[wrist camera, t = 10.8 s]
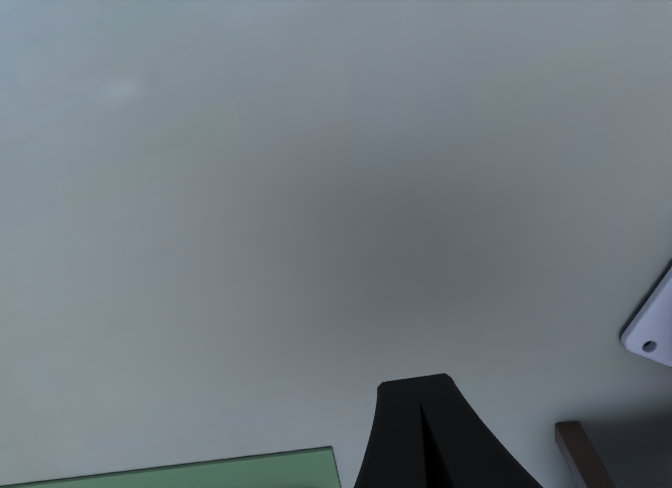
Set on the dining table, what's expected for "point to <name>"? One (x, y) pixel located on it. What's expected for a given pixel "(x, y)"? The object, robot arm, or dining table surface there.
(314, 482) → the mat
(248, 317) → the dining table surface
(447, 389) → the robot arm
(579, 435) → the table
